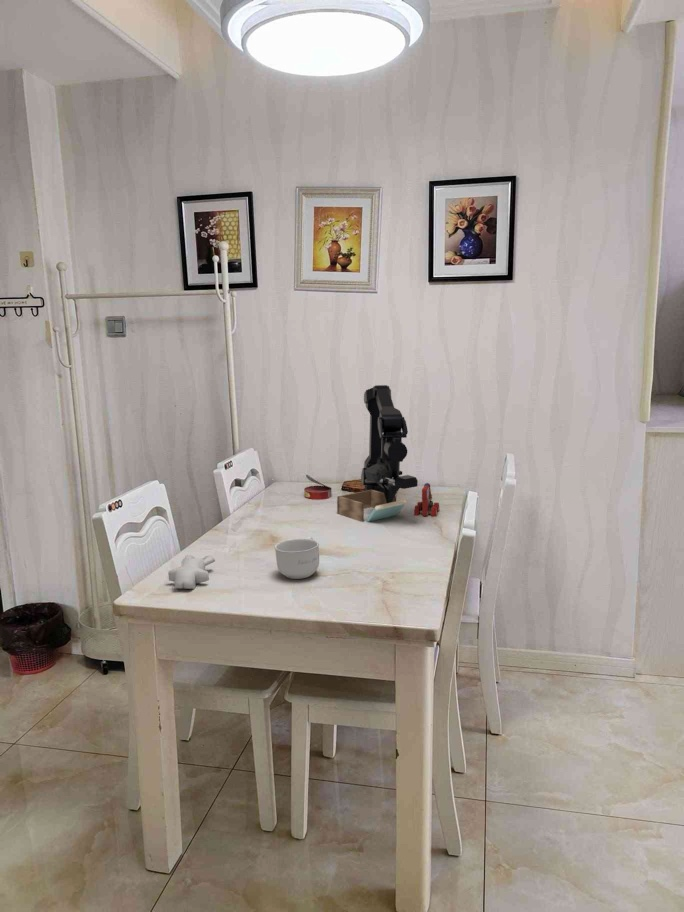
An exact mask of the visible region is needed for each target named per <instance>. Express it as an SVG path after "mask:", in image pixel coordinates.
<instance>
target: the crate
mask: <svg viewBox="0 0 684 912" xmlns="http://www.w3.org/2000/svg"><path fill="white" fill-rule="evenodd" d="M336 497H337V498H336V502H337V503H336V504H337V507H336V508H337V510H336V511H337V512H336V513H337V515H340V516H343V517H345V518H349V519H352V520H355V521H357V522H361V523H363V522H364V521H365V516H364V515H365V512H364V511H365V510H366V509H368V508H369V509H370V508H372V509H374V508H375V507H376V506H378V505H382V504H387V502H386V499H385V495H384V493H382V492H379V491H375V490H367V491H365V490H363V491H358V492H353V493H348V494H342V495H337V496H336ZM396 501H397V496H396V495H395V497H394V499H393V501H392V502H396Z"/></svg>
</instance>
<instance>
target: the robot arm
mask: <svg viewBox="0 0 684 912" xmlns="http://www.w3.org/2000/svg"><path fill="white" fill-rule="evenodd" d="M392 399H393V398H392V389H391V388H390V385H387V384H381V385H380V384H379V385H378V384H377V385H373V386H372V387H371V388H368V389H366V390H365V391H364V393H363V403H364V404H365V408H366V409H367V411H368V414H369V439H368V440H369V443H368V446H369V447H368V449H369V450H368V456H367V457H366V458H365V460H364V462H363V467H362V470H361V476H360V480H361V481H360V483H361V484H362V486H364V491H367V490H375V491H379V492H382V493H384V495H385V499H386V502H387V503H391V502H392V501H393V499H394V497H395V496H396V495H397V494H398V491H399V490H400V489H404V490H406V489H411V488H415V487H418V478H417V477H415V476H413V475H409V474H406V475H403V471H402V470H401V469H400V465H401V463H402V462H403V461H404V459H406V457H407V455H408V448H407V446H406V445H405V443H403V442H402V439H403V438H404V439H405V438H406V439H407V438H408V437H407V435H408V432H409V431H408V425H407V420H406V419H405V417H404V416H403V414H402V412H401V410H400V409H398V408H396V407H395V405H394V402H393V400H392Z"/></svg>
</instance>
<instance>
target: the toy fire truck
mask: <svg viewBox="0 0 684 912" xmlns="http://www.w3.org/2000/svg"><path fill="white" fill-rule="evenodd" d="M431 491H432V490H431V484H430V483H429V482H426V483H424V484H423V487H422V490H421V499H422V500H421V501H418V502H417V505H415V506H414V511H413V513H414V514H413V515H414V516H418V517H419V516H420V515H422V517H427V516H429V515H430V516H431V517H432V518H433V517H434V518H435V517H437V515H438V513H439V511H440V502H434V501H433V495H432V492H431Z"/></svg>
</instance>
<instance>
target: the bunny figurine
mask: <svg viewBox="0 0 684 912" xmlns="http://www.w3.org/2000/svg"><path fill="white" fill-rule="evenodd" d="M214 562H216V559H215V558H214V556H213V555H207V556H205V557H203V558H199V557H194V556H193V555H191V554H189V555H188V554H187V555H185V556H184V557H183V559H182V561H181V566H179V567H177V568H174V569H171V570H168V573H167V575H168V581H171V582H174V583H173V584H174V588H175V589H183V590H184V589H189V590H191V589H192V590H194V589H197V588H196V587H197V584H201V583H205V582H209V580H210V578H209V571H207V570H206V566H208V565H211V564H213V563H214Z"/></svg>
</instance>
